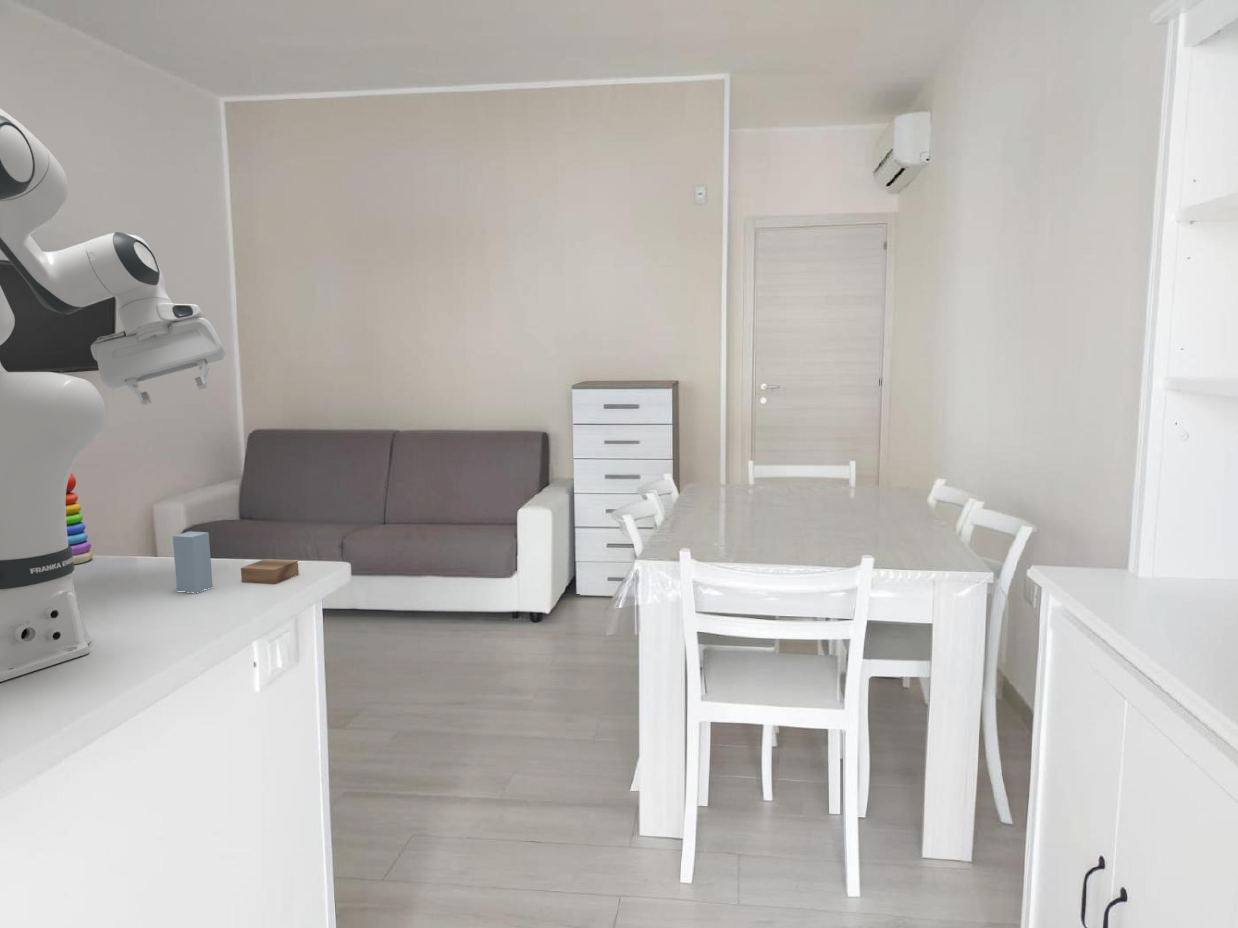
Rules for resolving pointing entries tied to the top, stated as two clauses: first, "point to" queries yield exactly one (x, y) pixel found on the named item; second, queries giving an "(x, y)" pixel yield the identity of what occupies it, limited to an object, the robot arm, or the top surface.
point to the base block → (269, 571)
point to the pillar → (192, 561)
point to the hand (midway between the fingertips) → (175, 395)
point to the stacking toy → (76, 526)
